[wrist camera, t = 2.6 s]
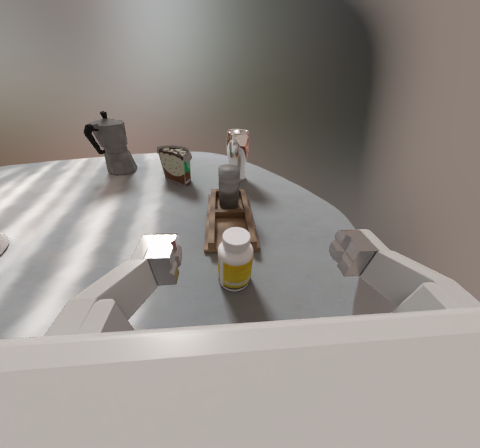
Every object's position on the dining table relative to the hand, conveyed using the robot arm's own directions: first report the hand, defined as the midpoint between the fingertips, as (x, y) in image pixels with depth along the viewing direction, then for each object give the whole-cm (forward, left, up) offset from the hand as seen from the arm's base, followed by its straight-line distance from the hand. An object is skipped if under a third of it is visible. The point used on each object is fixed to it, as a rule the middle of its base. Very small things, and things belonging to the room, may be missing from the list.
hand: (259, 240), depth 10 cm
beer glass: (+41, +36, -21) cm, 58 cm away
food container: (+27, +48, -21) cm, 58 cm away
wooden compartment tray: (+21, +21, -20) cm, 36 cm away
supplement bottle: (+9, +9, -21) cm, 24 cm away
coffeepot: (+16, +68, -21) cm, 73 cm away
